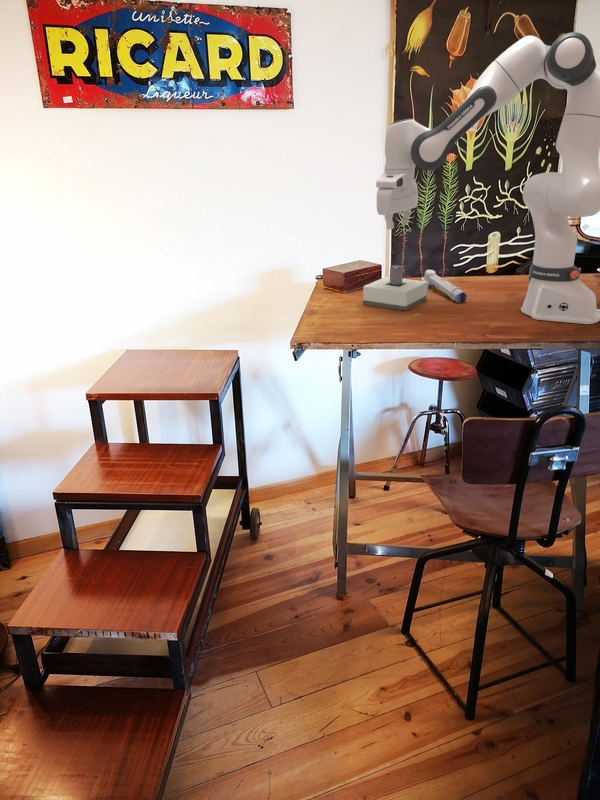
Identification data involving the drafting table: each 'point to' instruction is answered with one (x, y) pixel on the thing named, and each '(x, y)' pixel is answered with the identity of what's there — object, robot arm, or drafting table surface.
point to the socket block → (395, 294)
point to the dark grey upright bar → (396, 275)
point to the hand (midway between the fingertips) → (397, 226)
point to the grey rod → (444, 286)
